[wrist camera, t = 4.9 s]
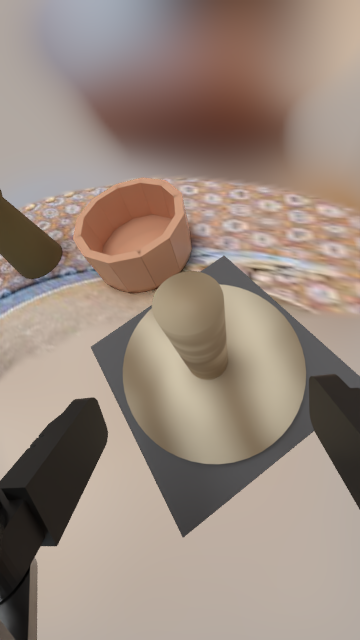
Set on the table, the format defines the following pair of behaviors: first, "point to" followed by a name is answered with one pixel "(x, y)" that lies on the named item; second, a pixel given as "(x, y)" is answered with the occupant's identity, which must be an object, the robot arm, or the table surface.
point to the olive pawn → (26, 243)
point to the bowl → (135, 234)
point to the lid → (213, 371)
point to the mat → (215, 479)
